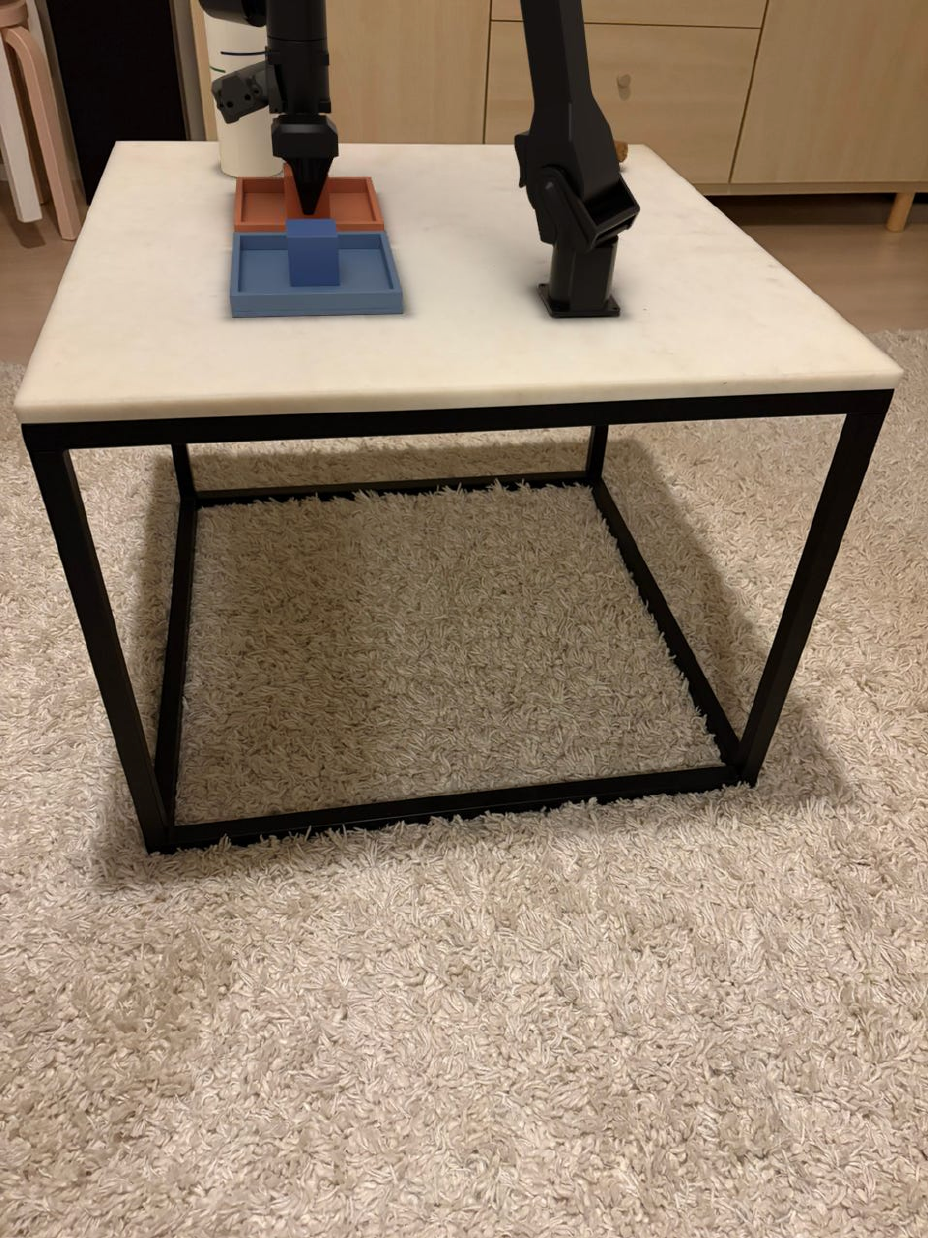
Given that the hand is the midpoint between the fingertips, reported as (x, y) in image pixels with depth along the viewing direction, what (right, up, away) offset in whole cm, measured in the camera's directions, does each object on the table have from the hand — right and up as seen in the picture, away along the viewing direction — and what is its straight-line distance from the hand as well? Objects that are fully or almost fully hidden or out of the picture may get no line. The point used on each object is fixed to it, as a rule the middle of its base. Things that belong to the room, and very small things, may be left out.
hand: (307, 205), depth 100 cm
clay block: (0, -1, +1) cm, 1 cm away
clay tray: (0, -1, +1) cm, 1 cm away
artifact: (+31, +13, +19) cm, 38 cm away
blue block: (+3, -12, -12) cm, 17 cm away
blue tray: (+3, -12, -12) cm, 17 cm away
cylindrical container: (-9, +10, +13) cm, 18 cm away
